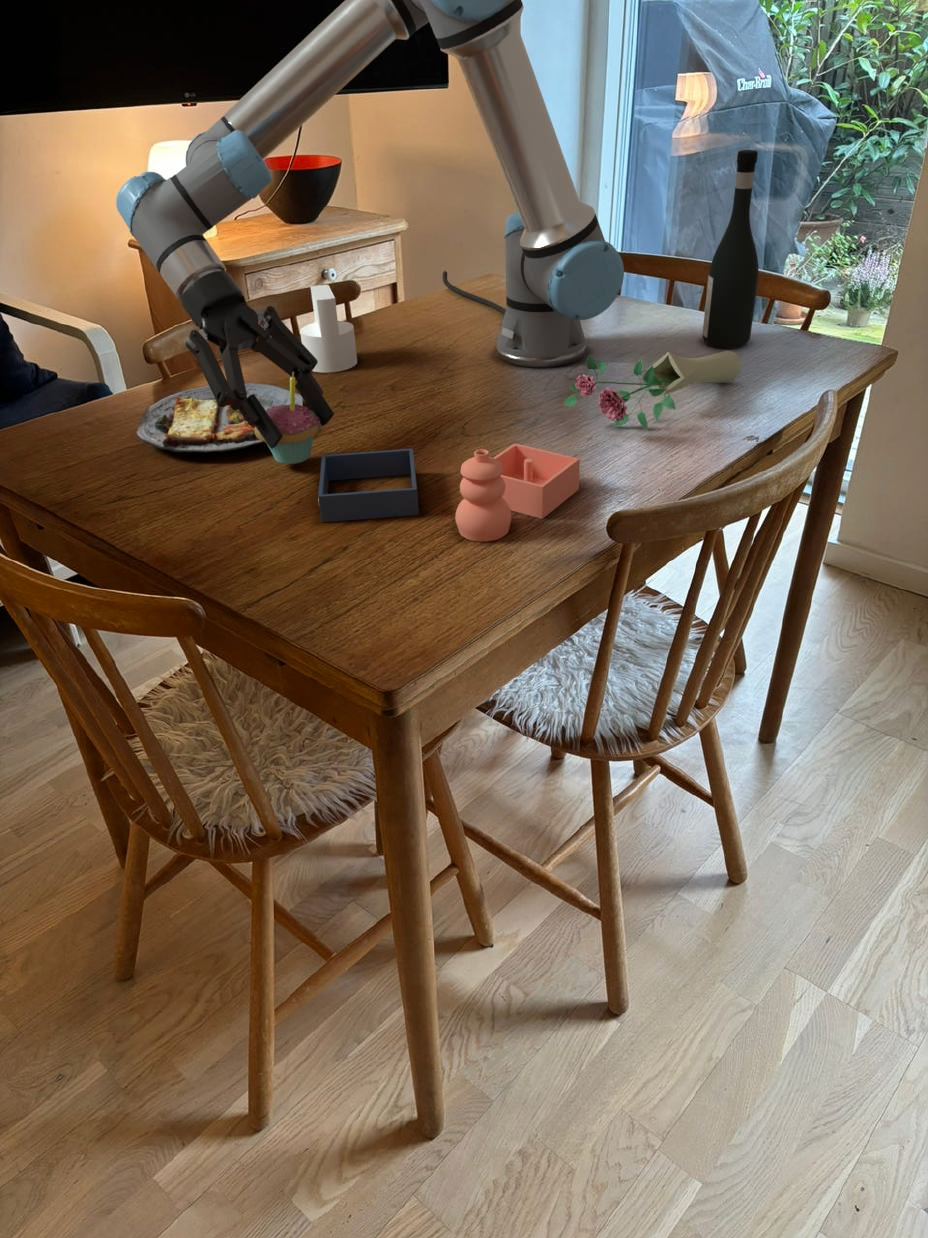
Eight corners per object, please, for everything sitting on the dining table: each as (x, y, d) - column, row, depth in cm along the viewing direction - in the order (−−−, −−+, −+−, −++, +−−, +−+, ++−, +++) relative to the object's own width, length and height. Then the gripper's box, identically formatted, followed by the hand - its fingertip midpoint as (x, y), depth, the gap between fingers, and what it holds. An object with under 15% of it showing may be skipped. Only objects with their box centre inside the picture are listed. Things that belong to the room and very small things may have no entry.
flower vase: (730, 435, 150) (609, 464, 125) (670, 395, 155) (543, 415, 130) (768, 367, 143) (649, 383, 118) (705, 328, 148) (577, 335, 123)
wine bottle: (693, 344, 163) (712, 152, 147) (715, 332, 168) (736, 145, 152) (736, 353, 159) (760, 156, 142) (757, 340, 164) (783, 148, 147)
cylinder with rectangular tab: (361, 368, 160) (353, 296, 153) (307, 375, 158) (298, 302, 152) (353, 352, 167) (345, 282, 161) (302, 358, 166) (292, 287, 159)
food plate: (296, 458, 131) (293, 434, 129) (126, 469, 130) (120, 445, 128) (308, 393, 151) (305, 371, 149) (161, 402, 151) (156, 380, 149)
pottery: (514, 473, 124) (513, 401, 119) (578, 489, 120) (581, 415, 114) (434, 530, 112) (429, 454, 106) (502, 551, 107) (500, 472, 102)
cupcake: (333, 447, 130) (323, 362, 123) (306, 473, 123) (294, 384, 117) (277, 441, 132) (264, 357, 126) (248, 467, 126) (232, 379, 119)
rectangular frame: (324, 479, 125) (321, 454, 123) (414, 472, 125) (412, 448, 123) (321, 522, 115) (317, 496, 113) (419, 515, 115) (417, 489, 114)
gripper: (257, 286, 133) (349, 419, 133) (127, 324, 120) (229, 473, 120) (276, 251, 127) (372, 391, 127) (142, 288, 114) (249, 443, 114)
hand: (303, 430), depth 124 cm, fingers closed on cupcake, 8 cm apart
